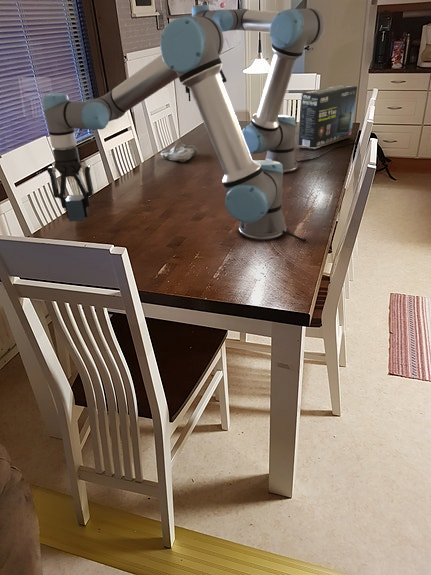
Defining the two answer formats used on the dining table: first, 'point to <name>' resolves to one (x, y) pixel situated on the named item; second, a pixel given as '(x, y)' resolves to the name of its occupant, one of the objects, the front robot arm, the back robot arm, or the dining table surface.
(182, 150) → the fossil
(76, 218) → the brick
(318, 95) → the router box
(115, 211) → the dining table surface
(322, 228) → the dining table surface
